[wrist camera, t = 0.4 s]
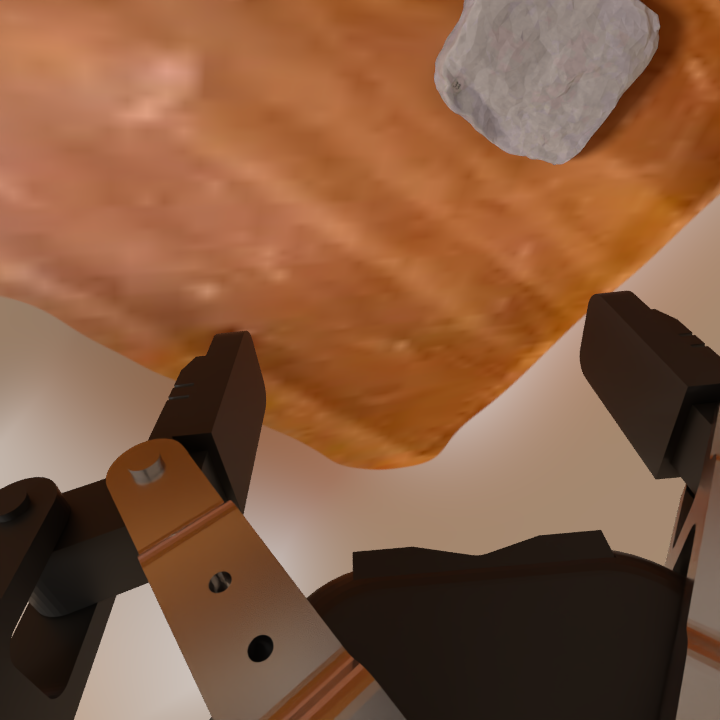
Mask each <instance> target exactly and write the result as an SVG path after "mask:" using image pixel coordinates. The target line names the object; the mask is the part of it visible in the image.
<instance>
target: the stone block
mask: <svg viewBox="0 0 720 720" xmlns="http://www.w3.org/2000/svg"><path fill="white" fill-rule="evenodd" d="M659 29H660V23H659V17H658V14H656V13H654V12H653V11H652V10H650V9H649V8H648V7H647V6H646V5H644V4H643V3H642V2H641V1H639V0H465V1H464V9H463V12H462V14H461V17H460V19H459V21H458V23H457V24H456V26H455V27H454V29H453V31H452V32H451V33H450V35H449V36H448V37H447V39H446V41H445V44H444V46H443V49H442V50H441V52H440V53H439V55H438V57H437V59H436V63H435V75H434V81H435V84H436V89H437V90H438V91H439V93H440V95H441V97H442V99H443V101H444V102H445V103H446V105H447V106H448V107H449V108H450V109H451V110H452V111H453V112H455V113H456V114H459V115H461V116H462V117H463V118H464V119H465V120H467V121H468V122H469V123H470V124H471V125H472V126H473V127H474V128H475V130H476V131H477V132H479V133H481V134H482V135H484V136H485V137H486V138H487V139H488V140H489V141H491V142H492V143H493V144H495V145H496V146H498V147H499V148H500V149H502V150H503V151H505V152H507V153H509V154H514V155H519V156H527V157H528V158H530V159H539V160H543V161H546V162H549V163H552V164H553V165H556V164H564V163H565V162H567V161H569V160H570V159H572V158H573V157H574V156H576V155H577V154H578V153H579V152H581V150H582V149H583V148H584V147H585V145H586V144H587V142H588V141H589V140H590V138H591V137H592V136H593V135H594V133H595V132H596V131H597V130H598V128H599V127H600V126H601V125H602V124H603V122H604V121H605V120H606V118H607V117H608V116H609V114H610V113H611V111H612V110H613V109H614V108H615V106H616V104H617V102H618V101H619V99H620V97H621V96H622V94H623V93H624V92H625V91H626V90H627V89H628V88H629V87H630V86H631V84H632V83H633V82H634V81H635V80H636V79H637V78H638V77H639V75H640V74H641V73H642V72H643V71H644V69H645V68H646V67H647V65H648V64H649V62H650V61H651V59H652V57H653V55H654V53H655V52H656V50H657V48H658V41H659V35H658V32H659Z"/></svg>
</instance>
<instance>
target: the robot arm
mask: <svg viewBox="0 0 720 720" xmlns="http://www.w3.org/2000/svg"><path fill="white" fill-rule="evenodd" d="M580 364H581V369H582V372H583V374H584V376H585V377H586V379H587V381H588V382H589V384H590V385H591V387H592V388H593V389H594V391H595V392H596V394H597V395H598V396H599V398H600V400H601V401H602V402H603V404H604V405H605V407H606V408H607V410H608V411H609V413H610V414H611V415H612V417H613V418H614V419H615V421H616V423H617V424H618V425H619V427H620V428H621V430H622V431H623V433H624V434H625V435H626V437H627V439H628V440H629V441H630V443H631V444H632V446H633V447H634V449H635V450H636V452H637V453H638V454H639V456H640V457H641V459H642V460H643V462H644V463H645V465H646V466H647V467H648V469H649V470H650V472H651V473H652V475H653V476H654V478H655V479H665V478H676V477H681V478H682V479H683V480H684V481H685V483H686V485H685V487H684V490H683V492H682V495H681V498H680V503H679V507H678V511H677V516H676V520H675V524H674V528H673V533H672V537H671V541H670V546H669V550H668V554H667V558H666V562H665V566H662V565H660V564H657V563H655V562H652V561H650V560H647V559H644V558H641V557H638V556H635V555H632V554H627V553H623V552H619V551H613V550H611V548H610V546H609V545H608V543H607V541H606V539H605V537H604V535H603V533H602V531H601V530H596V531H586V532H585V531H584V532H573V533H562V534H551V535H539V536H537V537H534V538H531V539H528V540H525V541H522V542H519V543H516V544H513V545H511V546H508V547H505V548H502V549H499V550H496V551H494V552H491V553H488V554H484V555H479V556H475V555H467V554H460V553H453V552H446V551H439V550H431V549H424V548H418V547H405V548H393V549H382V550H372V551H360V552H353V572H350V573H347V574H345V575H342V576H340V577H338V578H336V579H334V580H332V581H330V582H328V583H327V584H325V585H323V586H322V587H320V588H319V589H317V590H316V591H315V592H314V593H312V594H311V595H310V596H309V597H307V598H306V597H305V596H304V595H303V593H302V592H301V591H300V589H299V588H298V587H297V586H296V584H295V583H294V582H293V580H292V579H291V578H290V576H289V575H288V574H287V572H286V571H285V570H284V568H283V567H282V566H281V564H280V563H279V562H278V561H277V559H276V558H275V557H274V555H273V554H272V553H271V551H270V550H269V549H268V547H267V546H266V545H265V543H264V542H263V541H262V539H261V538H260V537H259V535H258V534H257V533H256V532H255V530H254V529H253V528H252V526H251V525H250V524H249V522H248V521H247V520H246V519H245V517H244V516H243V514H244V509H245V504H246V499H247V494H248V490H249V485H250V480H251V475H252V470H253V466H254V461H255V456H256V451H257V446H258V441H259V437H260V432H261V427H262V422H263V418H264V413H265V408H266V392H265V385H264V381H263V377H262V374H261V370H260V366H259V363H258V359H257V355H256V352H255V348H254V345H253V341H252V338H251V335H250V333H249V332H248V331H240V332H230V333H221V334H216V335H215V336H214V338H213V340H212V343H211V345H210V347H209V350H208V352H207V355H206V356H199V357H195V358H194V359H193V360H192V361H191V362H190V363H189V364H188V365H187V366H186V367H185V368H183V369H182V370H181V372H180V374H179V376H178V378H177V381H176V383H175V385H174V386H175V388H173V389H172V391H171V394H170V395H169V400H167V402H166V404H165V406H164V408H163V410H162V412H161V414H160V416H159V418H158V420H157V422H156V425H155V427H154V429H153V431H152V433H151V435H150V437H149V440H148V441H146V442H143V443H140V444H138V445H136V446H134V447H132V448H130V449H129V450H127V451H126V452H124V453H123V454H122V455H121V456H120V457H118V458H117V459H116V460H115V461H114V462H113V464H112V465H111V467H110V468H109V470H108V472H107V475H106V478H105V479H103V480H100V481H97V482H94V483H91V484H88V485H85V486H82V487H79V488H76V489H73V490H70V491H67V492H64V493H61V492H60V490H59V489H58V487H57V486H56V484H55V483H54V482H53V481H52V480H50V479H47V478H44V477H34V478H28V479H24V480H20V481H17V482H14V483H12V484H10V485H8V486H6V487H4V488H2V489H0V720H74V717H75V715H76V711H77V709H78V706H79V703H80V700H81V697H82V694H83V691H84V688H85V685H86V682H87V679H88V676H89V674H90V671H91V668H92V665H93V662H94V659H95V656H96V653H97V650H98V647H99V645H100V642H101V639H102V636H103V633H104V630H105V627H106V623H107V621H108V618H109V615H110V612H111V610H112V607H113V604H114V601H115V598H116V595H118V594H121V593H123V592H126V591H128V590H131V589H133V588H136V587H139V586H141V585H144V584H146V583H149V584H150V586H151V588H152V590H153V592H154V594H155V597H156V599H157V601H158V603H159V605H160V607H161V609H162V611H163V614H164V616H165V618H166V620H167V622H168V624H169V626H170V628H171V631H172V633H173V635H174V637H175V639H176V641H177V644H178V646H179V648H180V650H181V652H182V654H183V656H184V658H185V661H186V663H187V665H188V667H189V669H190V671H191V673H192V676H193V678H194V680H195V682H196V684H197V686H198V688H199V691H200V693H201V695H202V697H203V699H204V701H205V703H206V705H207V707H208V710H209V712H210V714H211V716H212V717H211V718H210V720H720V356H719V355H717V354H716V353H715V352H714V351H713V350H712V349H711V348H709V347H708V346H705V343H704V342H702V341H701V340H700V339H699V338H698V337H696V335H692V332H691V331H690V330H689V329H687V328H686V327H685V326H684V325H683V324H682V323H681V322H679V321H678V320H677V319H675V318H673V317H671V316H669V315H667V314H664V313H662V312H660V311H658V310H656V309H650V308H649V307H648V306H647V305H646V304H645V303H643V302H642V301H641V300H640V299H639V298H638V297H637V296H636V295H635V294H634V293H632V292H631V291H619V292H610V293H601V294H594V295H593V296H592V297H591V298H590V301H589V304H588V309H587V314H586V320H585V326H584V331H583V337H582V342H581V348H580ZM28 601H29V604H28V606H27V608H26V610H25V612H24V614H23V616H22V618H21V620H20V622H19V624H18V626H17V628H16V630H15V632H14V634H13V636H12V633H13V631H14V629H15V627H16V625H17V623H18V621H19V619H20V616H21V615H22V613H23V611H24V608H25V606H26V605H27V602H28ZM11 637H12V638H11Z"/></svg>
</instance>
